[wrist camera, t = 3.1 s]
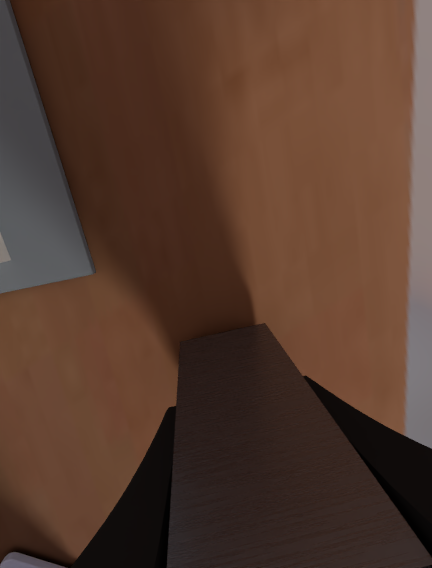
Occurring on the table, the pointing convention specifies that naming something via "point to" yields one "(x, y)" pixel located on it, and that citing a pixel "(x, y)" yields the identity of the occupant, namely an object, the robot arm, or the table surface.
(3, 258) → the tile
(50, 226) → the mat
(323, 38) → the table surface
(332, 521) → the block
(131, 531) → the robot arm
